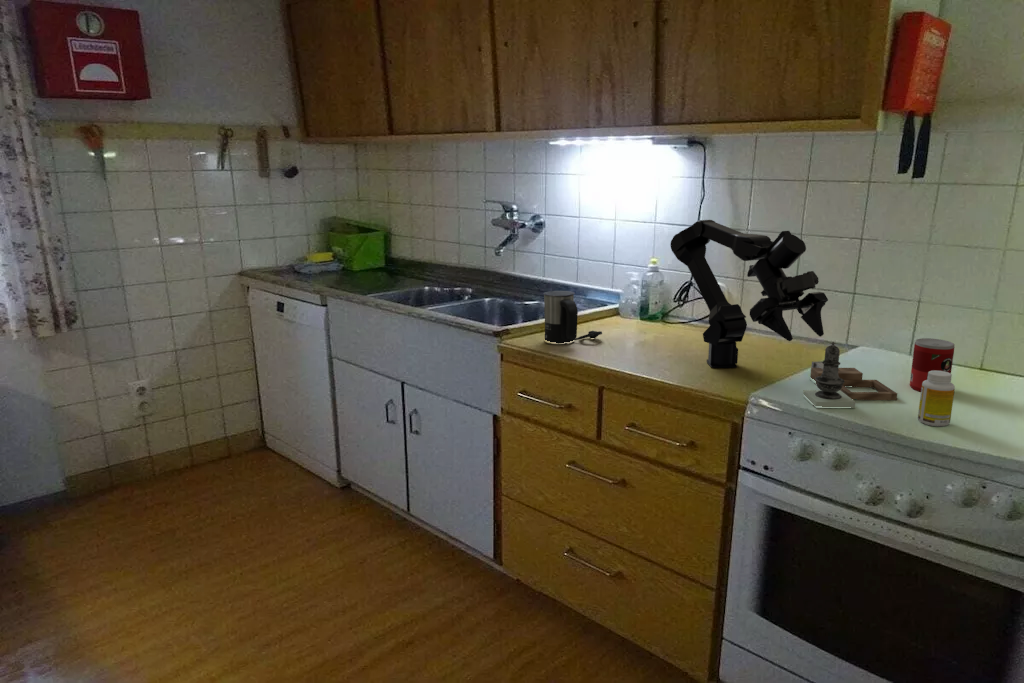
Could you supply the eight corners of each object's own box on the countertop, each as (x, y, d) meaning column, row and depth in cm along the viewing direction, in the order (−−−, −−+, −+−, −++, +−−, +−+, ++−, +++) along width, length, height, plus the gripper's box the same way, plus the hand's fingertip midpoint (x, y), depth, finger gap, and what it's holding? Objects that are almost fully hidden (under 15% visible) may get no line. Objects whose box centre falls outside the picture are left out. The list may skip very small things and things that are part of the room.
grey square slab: (815, 408, 150) (816, 401, 149) (802, 396, 157) (803, 390, 157) (854, 408, 149) (855, 401, 149) (839, 396, 157) (840, 390, 156)
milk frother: (536, 341, 211) (536, 292, 207) (574, 333, 221) (574, 286, 217) (571, 350, 200) (571, 298, 197) (608, 341, 210) (609, 291, 207)
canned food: (929, 396, 157) (936, 347, 154) (901, 385, 164) (906, 339, 161) (957, 392, 159) (963, 344, 156) (927, 382, 166) (933, 336, 163)
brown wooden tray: (834, 399, 155) (835, 386, 154) (810, 379, 170) (811, 367, 169) (896, 400, 154) (898, 387, 153) (866, 379, 169) (868, 367, 168)
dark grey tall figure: (843, 393, 154) (849, 340, 151) (842, 401, 149) (847, 346, 146) (814, 390, 157) (819, 337, 154) (812, 397, 152) (817, 343, 149)
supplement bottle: (956, 427, 138) (963, 376, 136) (928, 428, 138) (935, 377, 135) (937, 417, 143) (944, 368, 141) (911, 418, 143) (917, 369, 141)
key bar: (821, 380, 168) (822, 369, 168) (810, 372, 175) (811, 361, 174) (836, 380, 168) (837, 369, 167) (825, 372, 175) (826, 361, 174)
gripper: (762, 262, 153) (797, 322, 146) (825, 256, 161) (861, 313, 154) (735, 292, 162) (766, 350, 155) (795, 285, 170) (828, 340, 163)
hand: (806, 337), depth 157 cm, fingers open, 9 cm apart
